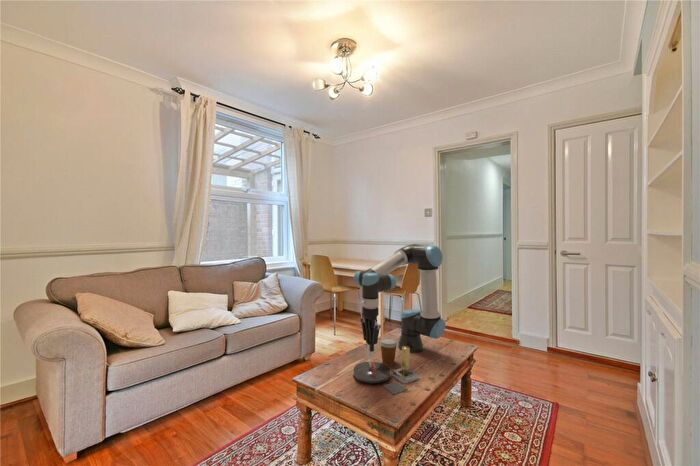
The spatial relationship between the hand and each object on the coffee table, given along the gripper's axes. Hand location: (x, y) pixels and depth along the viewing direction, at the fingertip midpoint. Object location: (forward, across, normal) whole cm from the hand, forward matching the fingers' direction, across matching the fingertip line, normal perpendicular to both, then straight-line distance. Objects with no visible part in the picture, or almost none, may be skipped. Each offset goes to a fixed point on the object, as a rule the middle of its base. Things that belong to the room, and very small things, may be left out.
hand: (370, 357), depth 138 cm
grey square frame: (+14, +2, +20) cm, 25 cm away
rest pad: (+14, +7, +9) cm, 18 cm away
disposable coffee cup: (+15, -15, +23) cm, 31 cm away
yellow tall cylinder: (+14, +2, +20) cm, 25 cm away
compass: (+13, -7, +6) cm, 15 cm away
